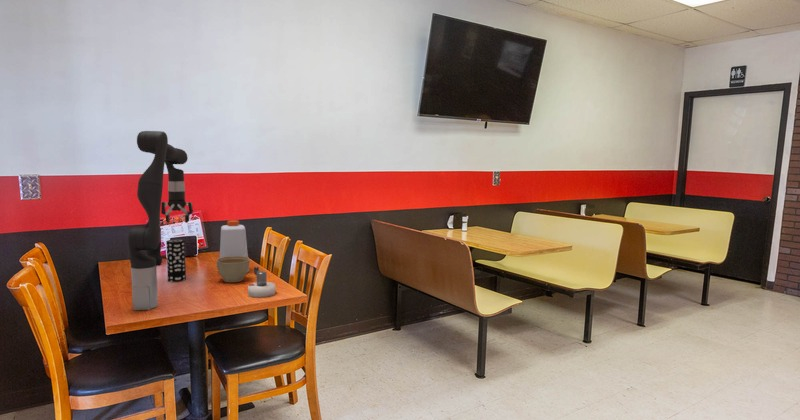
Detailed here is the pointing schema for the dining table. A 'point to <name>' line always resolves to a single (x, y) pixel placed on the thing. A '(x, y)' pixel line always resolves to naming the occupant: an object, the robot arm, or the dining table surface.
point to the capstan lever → (260, 277)
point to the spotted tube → (176, 260)
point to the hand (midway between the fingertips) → (177, 222)
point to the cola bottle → (155, 252)
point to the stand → (261, 290)
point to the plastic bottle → (233, 240)
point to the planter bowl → (233, 268)
